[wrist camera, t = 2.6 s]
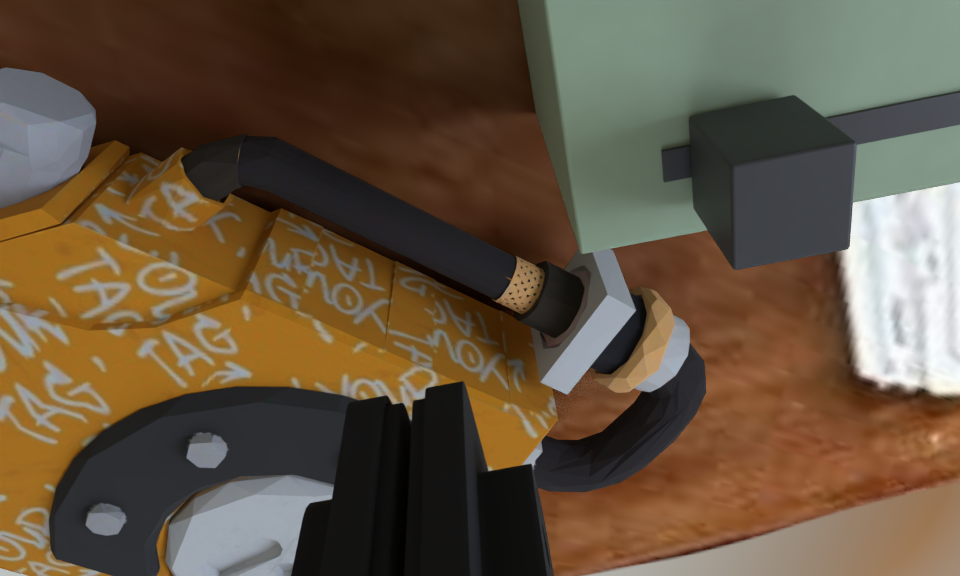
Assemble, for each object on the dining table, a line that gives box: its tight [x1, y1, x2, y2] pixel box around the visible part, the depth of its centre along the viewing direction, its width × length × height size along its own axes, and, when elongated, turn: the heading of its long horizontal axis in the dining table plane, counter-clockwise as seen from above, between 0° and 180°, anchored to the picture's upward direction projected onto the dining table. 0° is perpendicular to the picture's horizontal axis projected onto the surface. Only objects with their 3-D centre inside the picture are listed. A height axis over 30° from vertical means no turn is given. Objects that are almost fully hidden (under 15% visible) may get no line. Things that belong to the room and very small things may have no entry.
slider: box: [689, 95, 857, 270], centre depth 16 cm, size 2×2×3 cm
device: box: [0, 67, 706, 576], centre depth 30 cm, size 23×8×30 cm
